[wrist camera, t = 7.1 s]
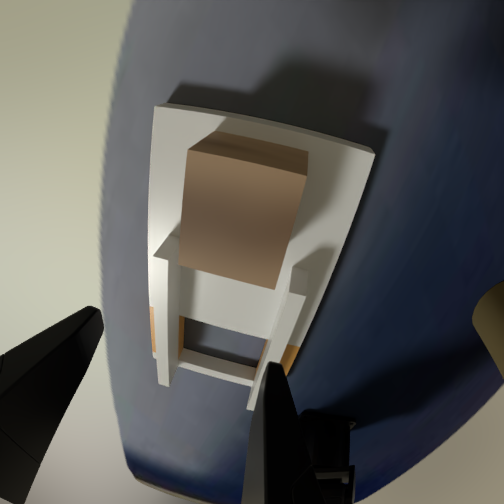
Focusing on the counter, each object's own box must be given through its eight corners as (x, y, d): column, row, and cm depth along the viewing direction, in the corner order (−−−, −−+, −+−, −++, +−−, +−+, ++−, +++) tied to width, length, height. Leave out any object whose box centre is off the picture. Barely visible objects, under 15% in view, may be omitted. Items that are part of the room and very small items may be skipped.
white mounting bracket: (280, 379, 29) (274, 415, 25) (158, 346, 29) (143, 378, 26) (370, 147, 16) (385, 169, 13) (165, 102, 17) (131, 113, 14)
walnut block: (282, 247, 19) (274, 290, 16) (201, 227, 19) (178, 264, 16) (308, 151, 16) (307, 176, 12) (214, 130, 16) (187, 149, 13)
